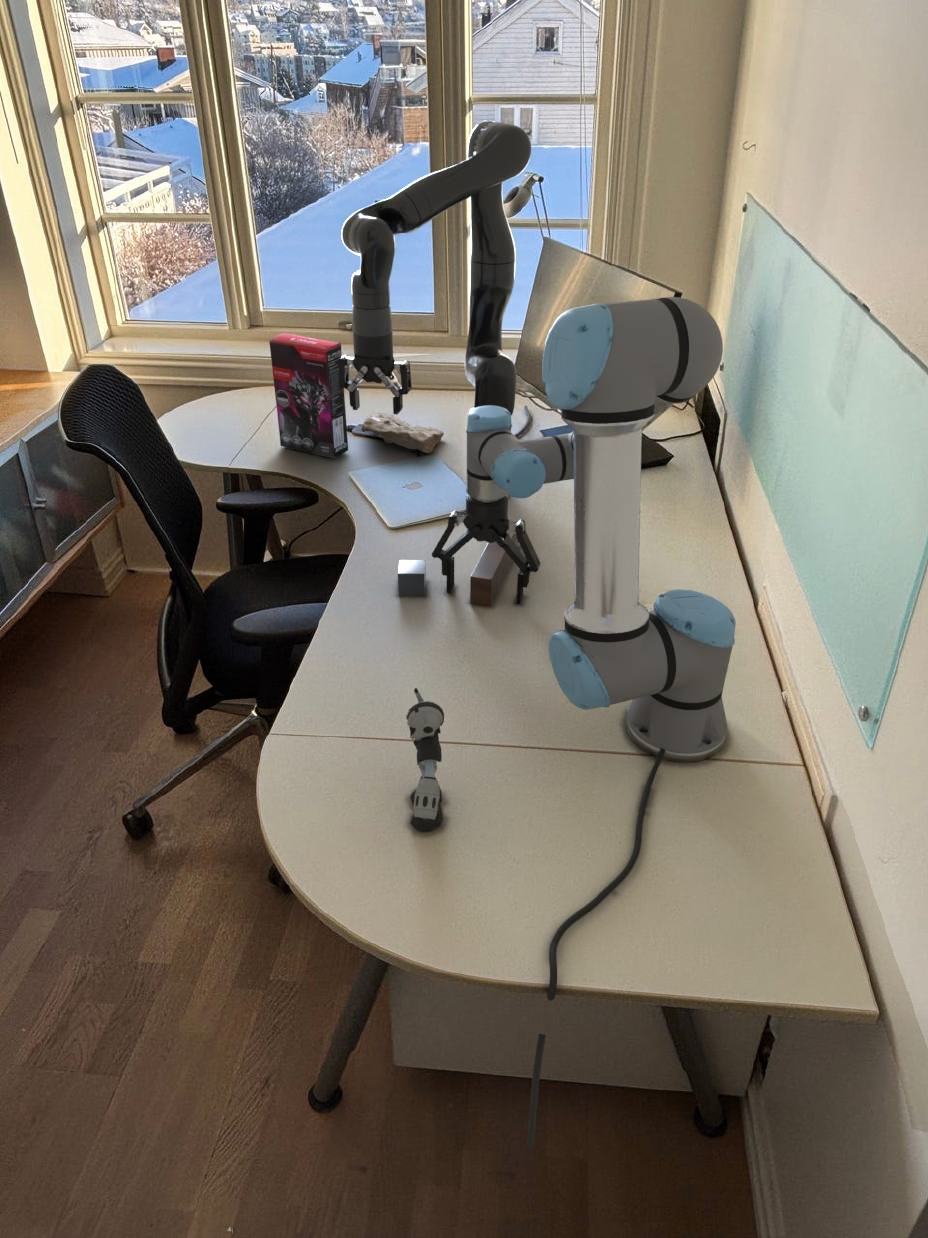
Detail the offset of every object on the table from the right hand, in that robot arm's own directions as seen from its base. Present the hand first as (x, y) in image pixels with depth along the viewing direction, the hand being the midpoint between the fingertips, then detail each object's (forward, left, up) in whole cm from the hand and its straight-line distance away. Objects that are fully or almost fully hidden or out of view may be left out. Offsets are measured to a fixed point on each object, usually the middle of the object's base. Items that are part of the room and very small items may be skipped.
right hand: (484, 594), depth 175 cm
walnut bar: (+8, 0, 0) cm, 8 cm away
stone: (+64, +39, 0) cm, 75 cm away
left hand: (+20, +28, +26) cm, 43 cm away
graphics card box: (+54, +58, 0) cm, 80 cm away
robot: (-57, -6, 0) cm, 57 cm away
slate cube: (-2, +14, 0) cm, 14 cm away
